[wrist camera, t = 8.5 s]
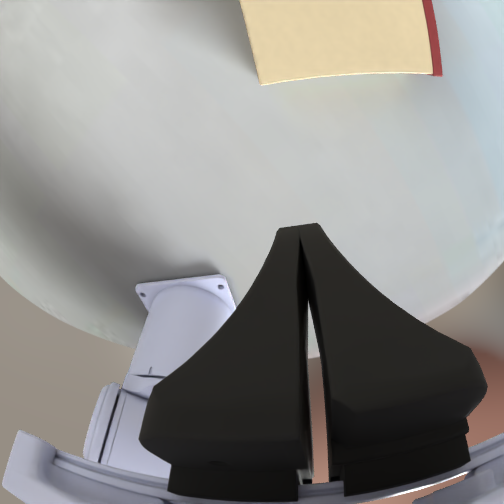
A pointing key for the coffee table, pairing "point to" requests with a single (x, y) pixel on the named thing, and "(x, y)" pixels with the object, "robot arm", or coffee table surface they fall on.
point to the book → (341, 38)
